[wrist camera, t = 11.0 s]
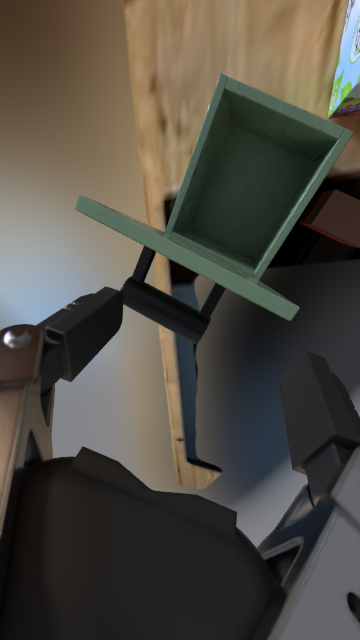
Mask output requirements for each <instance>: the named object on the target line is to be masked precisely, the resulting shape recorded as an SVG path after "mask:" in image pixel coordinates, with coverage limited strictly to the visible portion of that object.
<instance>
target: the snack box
mask: <svg viewBox="0 0 360 640" xmlns="http://www.w3.org/2000/svg"><path fill="white" fill-rule="evenodd" d="M356 114H360V0H349V5H348V10H347V15H346V21H345V26H344V31H343V36H342V42H341V47H340V52H339V58H338V63H337V68H336V73H335V79H334V84H333V90H332V95H331V100H330V105H329V110H328V116H327V119H330V118H335V117H342V116H349V115H356Z"/></svg>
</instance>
